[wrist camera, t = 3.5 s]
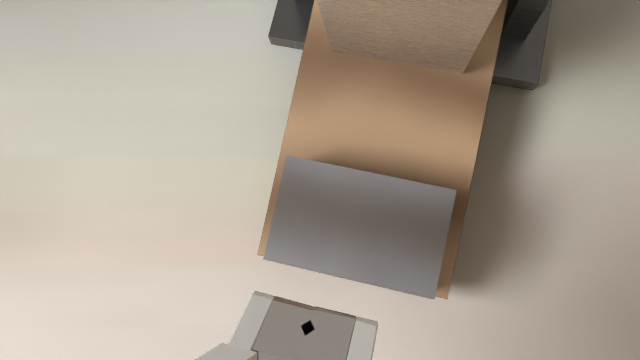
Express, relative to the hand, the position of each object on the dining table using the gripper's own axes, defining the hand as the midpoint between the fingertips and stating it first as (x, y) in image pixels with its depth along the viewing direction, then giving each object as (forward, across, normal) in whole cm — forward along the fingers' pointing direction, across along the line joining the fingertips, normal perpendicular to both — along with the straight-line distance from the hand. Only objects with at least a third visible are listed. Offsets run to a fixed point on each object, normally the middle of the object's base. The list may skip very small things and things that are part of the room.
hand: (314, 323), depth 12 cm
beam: (+22, 0, -4) cm, 22 cm away
